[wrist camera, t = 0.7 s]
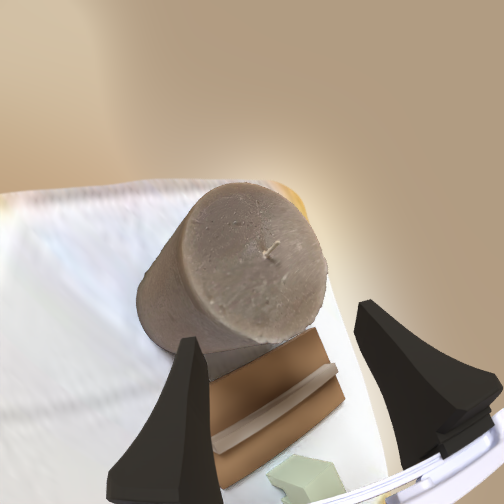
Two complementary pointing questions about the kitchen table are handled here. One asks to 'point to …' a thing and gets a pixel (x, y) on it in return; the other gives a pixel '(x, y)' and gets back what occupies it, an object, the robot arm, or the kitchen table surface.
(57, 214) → the kitchen table surface
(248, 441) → the cleat plank
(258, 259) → the pillar candle
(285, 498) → the notched block
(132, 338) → the kitchen table surface
